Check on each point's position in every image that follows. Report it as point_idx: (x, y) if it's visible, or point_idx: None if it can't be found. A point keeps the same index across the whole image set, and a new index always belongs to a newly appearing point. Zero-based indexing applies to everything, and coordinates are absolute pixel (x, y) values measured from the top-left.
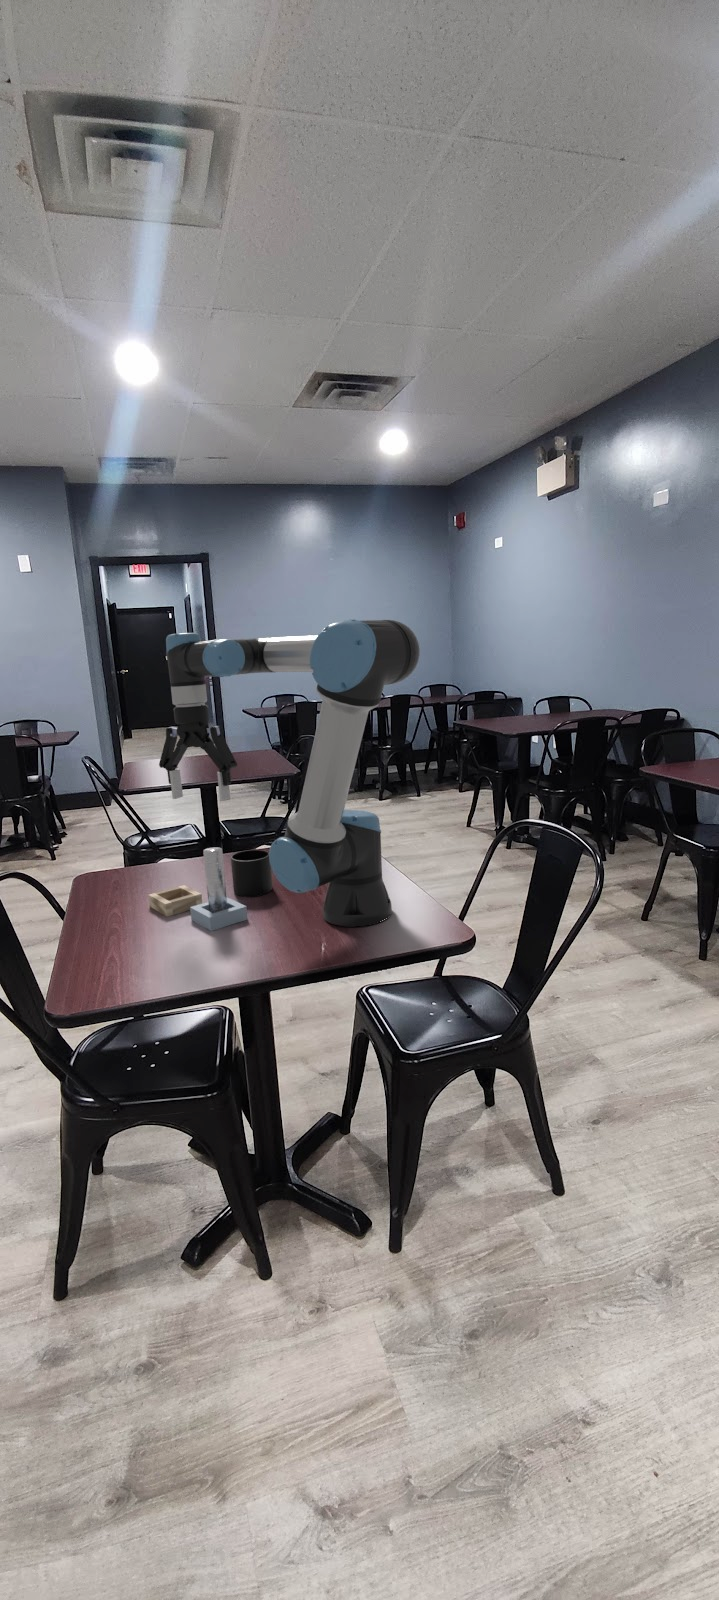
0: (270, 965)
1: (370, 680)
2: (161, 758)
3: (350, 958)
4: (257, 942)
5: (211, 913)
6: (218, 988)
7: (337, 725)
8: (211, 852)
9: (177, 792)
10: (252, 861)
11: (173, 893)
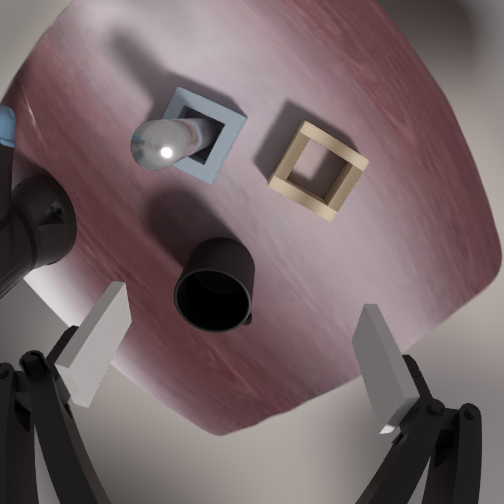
0: (59, 45)
1: None
2: (477, 444)
3: None
4: (98, 85)
5: (186, 103)
6: None
7: None
8: (143, 125)
9: (365, 334)
10: (185, 273)
11: (334, 190)
